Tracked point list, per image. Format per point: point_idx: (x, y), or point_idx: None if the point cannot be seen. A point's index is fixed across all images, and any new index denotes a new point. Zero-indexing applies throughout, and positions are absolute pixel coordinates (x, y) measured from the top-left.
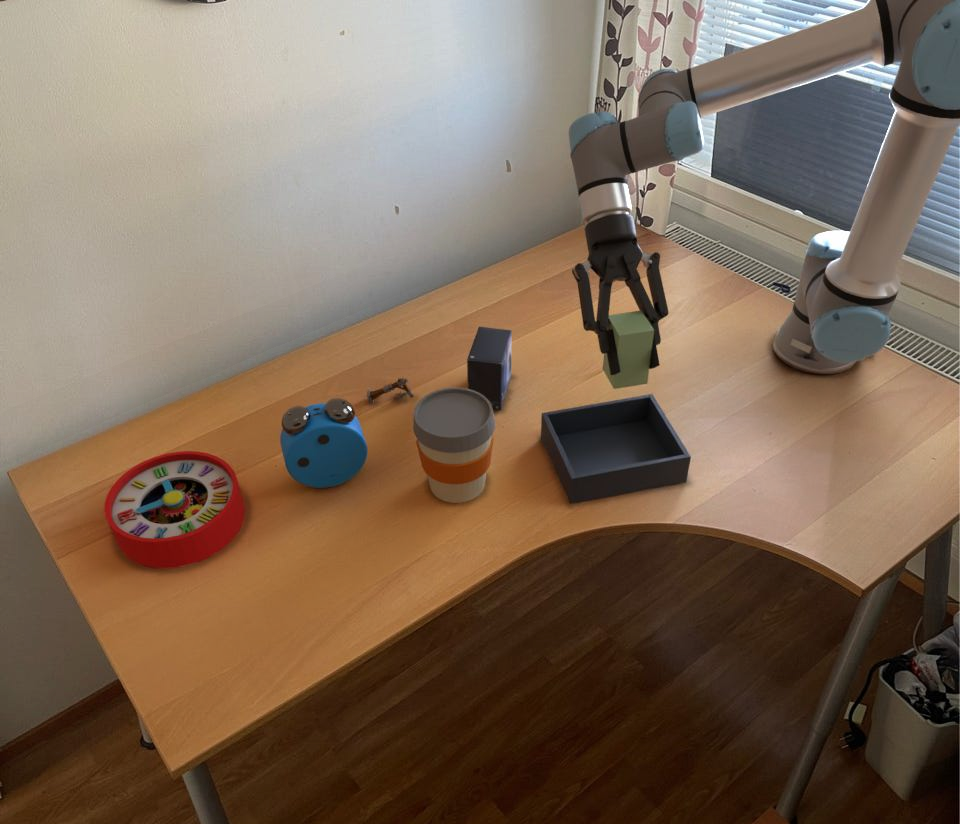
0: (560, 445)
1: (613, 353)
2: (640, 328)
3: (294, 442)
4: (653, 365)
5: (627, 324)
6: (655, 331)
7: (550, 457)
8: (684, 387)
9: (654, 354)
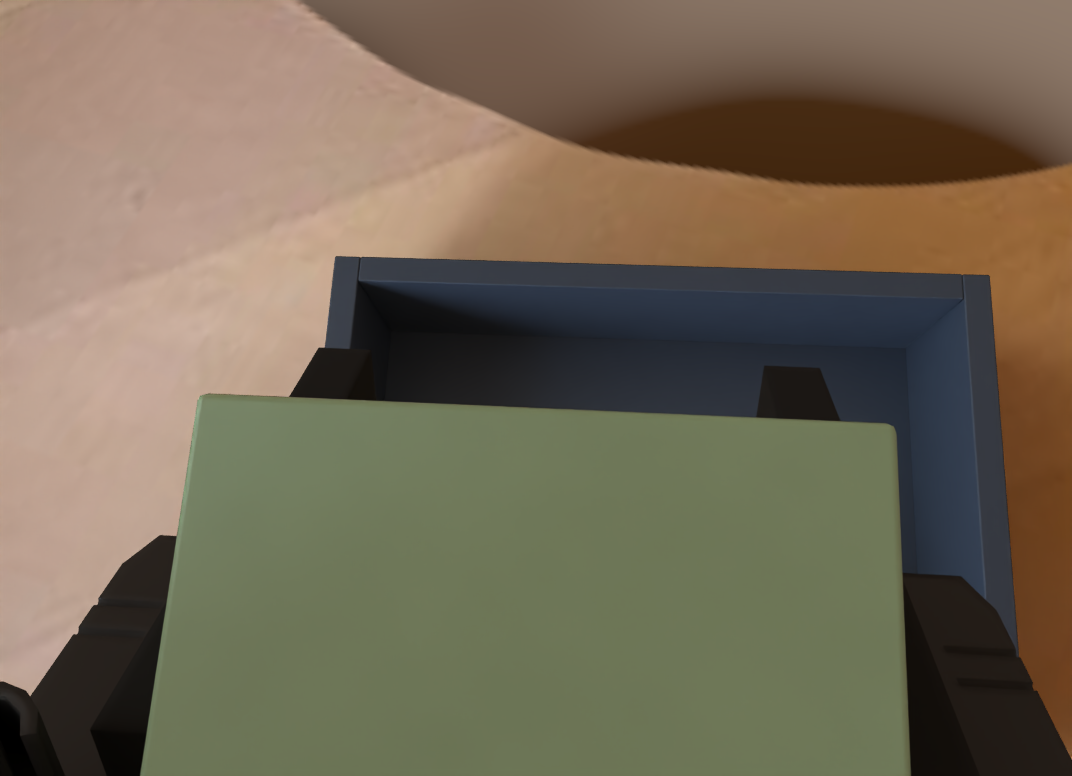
0: (988, 543)
1: None
2: (415, 511)
3: None
4: (370, 394)
5: (607, 731)
6: (116, 663)
7: None
8: None
9: None
